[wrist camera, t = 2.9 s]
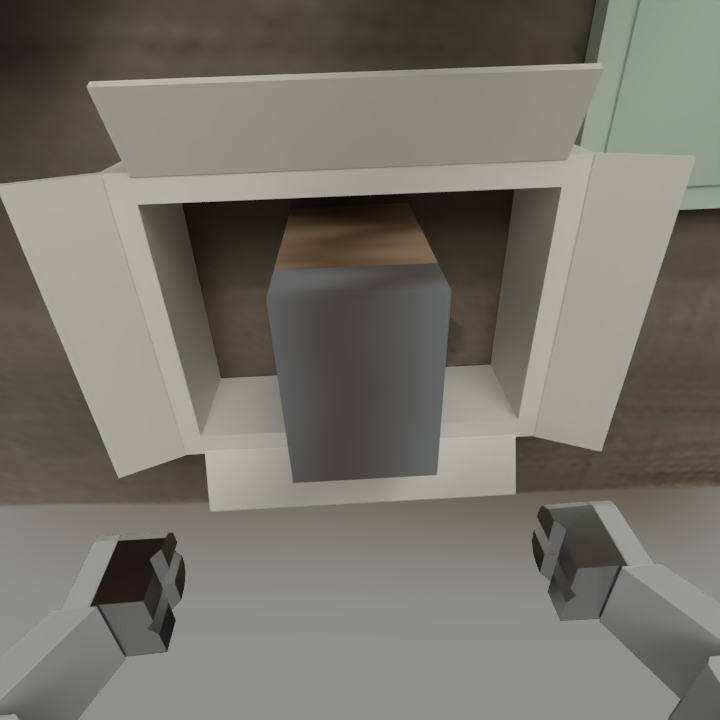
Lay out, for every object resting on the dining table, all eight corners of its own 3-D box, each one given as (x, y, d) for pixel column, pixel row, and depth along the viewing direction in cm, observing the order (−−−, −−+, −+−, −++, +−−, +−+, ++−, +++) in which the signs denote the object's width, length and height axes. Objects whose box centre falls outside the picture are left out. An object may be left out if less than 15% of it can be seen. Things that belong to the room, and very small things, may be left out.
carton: (625, 57, 18) (732, 58, 13) (545, 414, 27) (590, 491, 22) (54, 77, 18) (-51, 87, 13) (168, 434, 27) (132, 518, 22)
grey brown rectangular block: (408, 202, 21) (451, 290, 13) (404, 343, 24) (436, 475, 17) (290, 207, 21) (265, 298, 13) (305, 348, 24) (293, 483, 17)
